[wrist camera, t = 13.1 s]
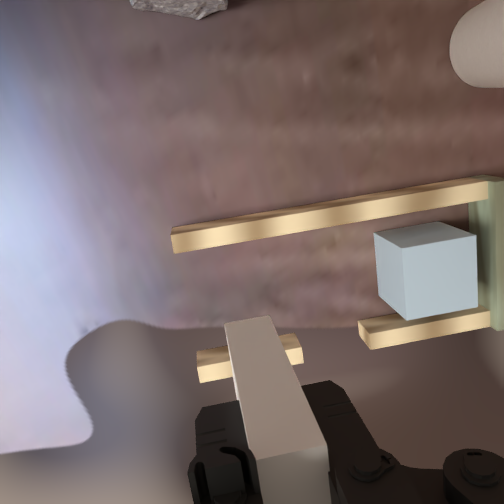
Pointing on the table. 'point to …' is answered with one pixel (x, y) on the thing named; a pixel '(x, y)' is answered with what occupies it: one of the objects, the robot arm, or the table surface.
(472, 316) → the channel
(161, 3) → the stone
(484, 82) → the coffee cup
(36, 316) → the table surface
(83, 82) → the table surface
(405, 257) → the block
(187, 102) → the table surface
